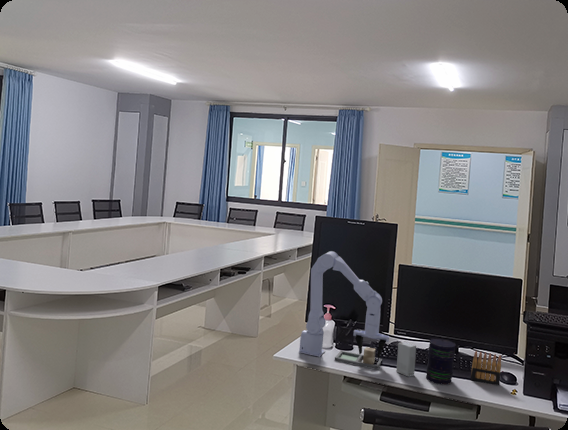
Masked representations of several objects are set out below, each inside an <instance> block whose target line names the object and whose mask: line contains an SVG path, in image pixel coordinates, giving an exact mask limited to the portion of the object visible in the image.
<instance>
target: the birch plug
mask: <svg viewBox="0 0 568 430" xmlns="http://www.w3.org/2000/svg"><path fill="white" fill-rule="evenodd" d="M376 350H377V349H376V348H373V347H367V346H365V348H364V349H363V355H364V356H363V358H362V363H367V364H372V365H375V362H376V361H375V358H376Z"/></svg>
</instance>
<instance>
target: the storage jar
mask: <svg viewBox="0 0 568 430" xmlns="http://www.w3.org/2000/svg"><path fill="white" fill-rule="evenodd" d="M455 355H456V343H455V342H453V341H451V340H449V339H444V338H430V339H429V346H428V361H427V365H426V370H425V371H426V376H425V379H426V380H427V381H429V382H431V383H433V384H436V385H442V386H445V385H451V384H452V379H453V371H454V368H453V366H454V365H453V364H454V360H455Z"/></svg>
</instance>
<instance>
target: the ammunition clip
mask: <svg viewBox="0 0 568 430" xmlns="http://www.w3.org/2000/svg"><path fill="white" fill-rule="evenodd" d="M487 357H488V358H487ZM471 365H472V367H471V373H470V378H471V379H470V381H474V382H478V383H485V384H489V385H494V386H500V382H501V371H502V370H501V369H502V355H501V354H499V355H498V359H497V355H496V353H494V354H493V358H492V353H490V352H489V353H488V355H487V351H485V352H484V353H483V354H482V351H480V352H479V354H478V351H477V350H475V352H474V353H473V359H472V364H471Z"/></svg>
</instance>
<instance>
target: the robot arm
mask: <svg viewBox="0 0 568 430" xmlns="http://www.w3.org/2000/svg"><path fill="white" fill-rule="evenodd" d="M331 268H332V270H333V271H338V272H340V273H342V275H343V276H344V277H345V278H346V279H347V280H348V281H349V282H350V283H351V284H352V285H353V291H355V293H357V294H358V296H359V297H360V298H361V299H362V300H363V301H364V302H365V305H366V307H367V308H366V313H365V314H366V315H365V324H364V330H357V329H354V330H353V337H355V342H356V344H357V347H358V354H361V355H362V353H363V343H364V338H367V339H373V340H379V341H378V349H377V357H376V358H380V357H381V354H382V350H383V348H384V346H385V345H386V343H389V342H390V336H389V335H386V334H383V333H379V332H380V323H381V305H382V304H383V298H382V296H381V294H380V293H378V292H377V291H376V290H374V289H373V288H372V287H371V286H370V283H369V282H368V280H367V281H365V280H364V279H360V278H359V277H358V276H357V275H356V274H355V272H354V271H353V270H352V269H351V267H350V266H349V265H348V264H347V263H346V261H345V260H344V259H343V258H342V256H339V255H338V253H337V252H335V251H333V250H330V251H328V252H326V253H324V254H322V255H321V256H319V257H317V259H316V261H315V263H314V264H313V265H312V267H311V269H310V307H309V308H310V311H309V313H308V317H307V318H308V320H307V322H306V325H305V330H302V331H301V333H300V339H299V350H298V353H300V354H306V355H309V356H314V357H319V358H320V357H321V356H322V355H323V354H324V353H325V352H326V350H325V349H323V344H324V333H325V331H324V329H323V328H325V325H326V321H327V320H326V318H325V316H324V315H325V314H324V310H323V292H324V291H323V287H324V284H323V282H324V281H323V280H324V279H323V278H324V276H323V275H324V273H326V271H327V270H330V269H331Z"/></svg>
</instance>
